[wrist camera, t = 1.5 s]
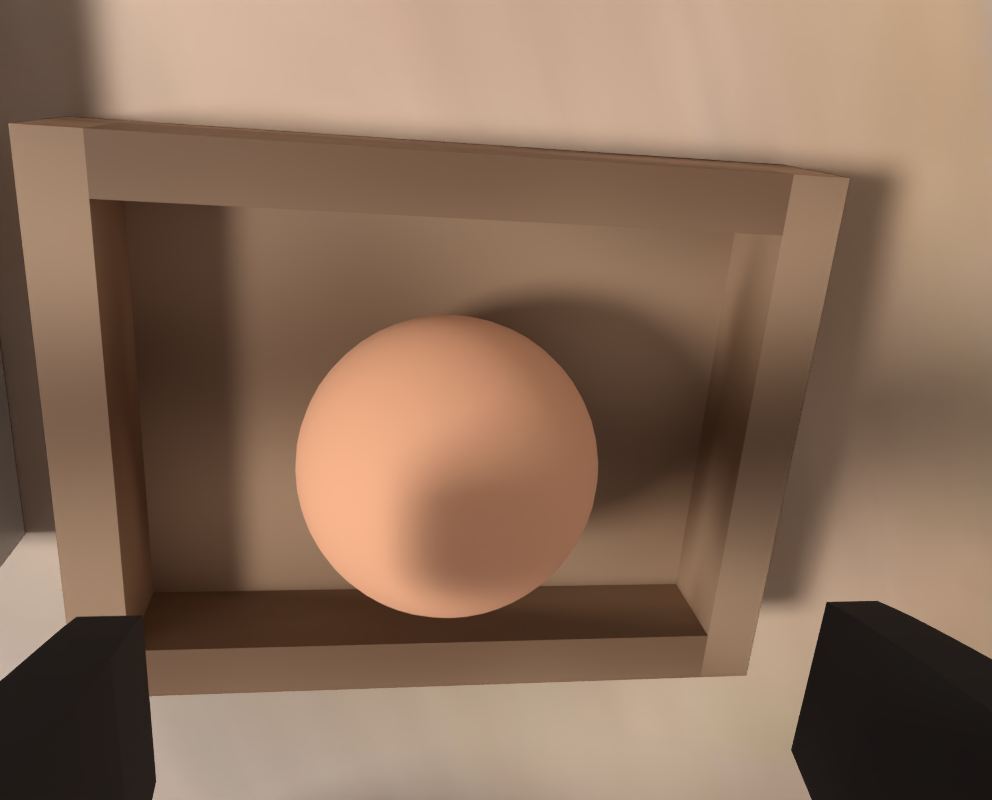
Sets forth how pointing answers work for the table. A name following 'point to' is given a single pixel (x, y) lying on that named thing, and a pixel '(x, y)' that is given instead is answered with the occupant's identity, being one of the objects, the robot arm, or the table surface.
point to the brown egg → (446, 466)
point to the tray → (8, 481)
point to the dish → (373, 307)
